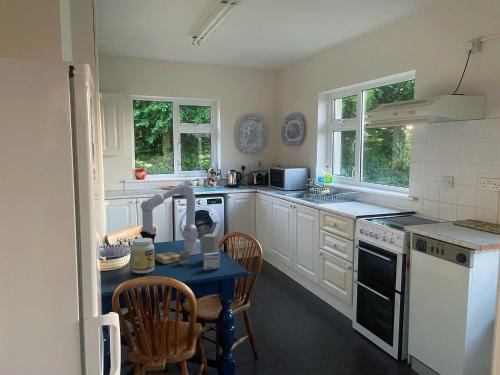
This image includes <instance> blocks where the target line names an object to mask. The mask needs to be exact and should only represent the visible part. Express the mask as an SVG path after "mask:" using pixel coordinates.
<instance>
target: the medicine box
mask: <svg viewBox="0 0 500 375" xmlns="http://www.w3.org/2000/svg"><path fill="white" fill-rule="evenodd" d="M203 256H204V261H203V269H204V270H205V271H213V270H220V260H219V253H217V252H214V253H204V254H203V253H202V257H203Z"/></svg>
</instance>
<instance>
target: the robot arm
mask: <svg viewBox="0 0 500 375" xmlns="http://www.w3.org/2000/svg"><path fill="white" fill-rule="evenodd" d="M175 195H180V196H182V197H183V198H184V199H185V200H186V208H185V210H186V211H185V225H184V226H183V230H182V237H183V238H184V251H188V252H189V256H194V255H199V254H202V253H201V241H200V239H198V237H199V232H198V228H197V226H196V225H195V224H196V223H195V222H196V221H195V220H196V195H195V193H194V189H193V188H192V187H191V186H190V185H188V184H187V185H185V184H178V185H176V186H174V187H173V188H171V189H169V190H167V191H166V192H164V193H163V194H154V196H153V197H151V198H148V199H147V200H143V201H142V202H141V203H140V209H141V213H142V216H141V217H142V221H141V222H142V227H140V228H141V229H140V231H139V234H140V236H141V238H151V239H152V242H153V243H152V244H153V245H154V241H155V238H156V236H157V233H156V232H155V230H154V226H153V224H154V222H153V221H154V220H153V218H154V217H153V210H154V209H155V208H156V207H158V206H160V205H162V204H163V203H164V202H165V200H167V199H169V198H172V197H173V196H175Z"/></svg>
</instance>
